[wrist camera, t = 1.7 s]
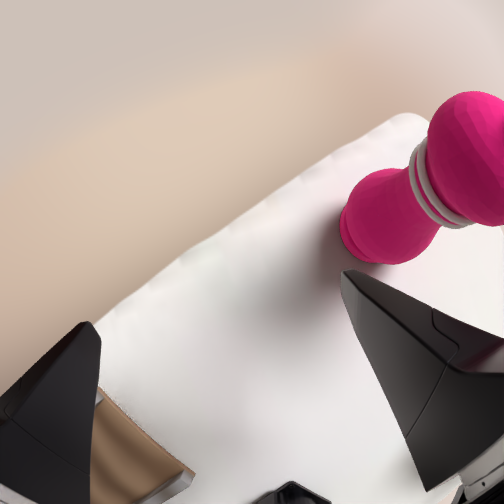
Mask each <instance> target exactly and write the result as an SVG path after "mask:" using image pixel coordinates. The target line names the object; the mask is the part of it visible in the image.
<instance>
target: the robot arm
mask: <svg viewBox="0 0 504 504" xmlns="http://www.w3.org/2000/svg"><path fill="white" fill-rule="evenodd" d="M341 295H342V298H343V301H344V304H345V306H346V309H347V312H348V314H349V317H350V320H351V323H352V325H353V328H354V331H355V333H356V336H357V338H358V340H359V342H360V344H361V346H362V348H363V350H364V352H365V354H366V356H367V358H368V360H369V362H370V364H371V366H372V368H373V370H374V372H375V374H376V377H377V379H378V381H379V383H380V385H381V387H382V389H383V391H384V394H385V396H386V398H387V400H388V402H389V404H390V407H391V409H392V411H393V413H394V416H395V418H396V420H397V422H398V425H399V427H400V429H401V431H402V434H403V436H404V438H405V441H406V444H407V446H408V448H409V451H410V453H411V456H412V458H413V460H414V463H415V465H416V468H417V470H418V473H419V475H420V478H421V481H422V483H423V486H424V488H425V491H426V492H428V491H430V490H432V489H434V488H436V487H438V486H440V485H442V484H444V483H445V482H447V481H449V480H451V479H452V478H454V477H456V476H457V475H459V476H460V479H461V481H462V485H461V486H459V488H458V490H457V492H456V495H455V497H454V499H453V501H452V503H451V504H504V338H501V337H498V336H496V335H493V334H491V333H488V332H486V331H483V330H481V329H478V328H476V327H474V326H471V325H469V324H466V323H464V322H462V321H459V320H457V319H455V318H453V317H451V316H449V315H447V314H445V313H443V312H441V311H439V310H437V309H435V308H433V309H432V307H431V306H429V305H427V304H425V303H423V302H421V301H419V300H417V299H415V298H413V297H411V296H409V295H407V294H405V293H403V292H401V291H399V290H397V289H395V288H393V287H391V286H389V285H387V284H385V283H383V282H381V281H379V280H377V279H375V278H372V277H370V276H368V275H366V274H364V273H362V272H360V271H358V270H356V269H354V268H351V269H347V270H343V271H342V272H341ZM100 355H101V338H100V336H99V334H98V333H97V331H96V330H95V328H94V327H93V325H92V324H91V323H90V322H89V321H86V322H80V323H79V324H78V325H76V326H75V327H74V328H73V329H72V330H71V331H70V332H69V333H67V334H66V335H65V336H64V337H63V338H62V339H61V340H60V341H59V342H58V343H56V345H54V346H53V347H52V348H51V349H50V350H49V351H48V352H47V353H46V354H45V355H43V356H42V357H41V358H40V359H39V360H38V361H37V362H36V363H35V364H34V365H33V366H32V367H31V368H30V369H29V370H28V371H27V372H26V373H25V374H24V375H23V376H22V377H20V378H19V379H18V380H17V382H15V383H14V384H13V385H12V386H11V387H10V388H9V389H8V390H7V391H6V392H5V393H4V394H3V395H2V396H1V397H0V504H90V465H91V445H92V432H93V421H94V412H95V403H96V395H97V388H98V381H99V370H100ZM291 485H294V486H291ZM257 504H332V502H331V501H329V500H327V499H325V498H323V497H321V496H319V495H318V494H316V493H314V492H312V491H310V490H308V489H307V488H305V487H303V486H301V485H300V484H298V483H296V482H294V481H291V482H288V483H287V484H285V485H284V486H283V487H281V488H280V489H278V490H277V491H275V492H273V493H271V494H270V495H268V496H267V497H265V498H263V499H262V500H260V501H259V502H257Z"/></svg>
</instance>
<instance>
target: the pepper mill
mask: <svg viewBox="0 0 504 504" xmlns="http://www.w3.org/2000/svg"><path fill="white" fill-rule="evenodd" d="M475 223H479V224H482V225H486V226H492V227H494V226H500V225H504V101H502V100H501V99H499V98H497V97H495V96H493V95H490V94H487V93H484V92H480V91H479V92H478V91H470V92H462V93H459V94H457V95H455V96H453V97H451V98H449V99H448V100H447V101H446V102H444V103H443V104H442V105H441V106H440V107H439V108H438V110H437V111H436V113H435V114H434V116H433V118H432V120H431V122H430V125H429V128H428V135H427V137H426V138H425V139H424V140H423V141H422V142H421V143H420V144H419V145H418V146H417V147H416V148H415V149H414V151H413V152H412V155H411V157H410V162H409V166H408V167H406V168H405V169H394V168H390V169H383V170H379V171H376V172H373V173H371V174H369V175H368V176H366V177H365V178H363V179H362V180H361V181H360V182H359V183H358V184H357V185H356V186H355V187H354V189H353V190H352V192H351V194H350V196H349V199H348V202H347V205H346V206H345V207H344V209H343V211H342V214H341V217H340V224H339V226H340V234H341V238H342V240H343V242H344V244H345V246H346V248H347V249H348V250H349V251H350V252H351V253H352V254H353V255H354V256H355V257H356V258H358V259H360V260H362V261H365V262H370V263H377V262H379V263H383V264H391V265H395V264H401V263H404V262H407V261H409V260H411V259H413V258H415V257H417V256H418V255H419V254H421V253H422V252H423V251H424V250H425V249H426V248H427V247H428V246H429V244H430V243H431V241H432V240H433V238H434V236H435V234H436V233H437V231H438V230H439V228H440V227H441V226H444V227H447V228H451V229H460V228H464V227H466V226H468V225H472V224H475Z"/></svg>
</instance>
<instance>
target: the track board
mask: <svg viewBox="0 0 504 504" xmlns="http://www.w3.org/2000/svg"><path fill="white" fill-rule="evenodd" d="M194 476H195V473H194V472H193V471H192V470H190V469H189V468H188V467H186V466H185V465H184V464H182V463H181V462H180V461H178V460H177V459H176V458H175V457H173V456H172V455H171V454H170V453H168V452H167V451H166V450H165V449H163V448H162V447H161V446H160V445H159V444H158V443H156V442H155V441H154V440H153V439H152V438H151V437H149V436H148V435H147V434H146V433H145V432H144V431H143V430H142V429H141V428H139V427H138V426H137V425H136V424H135V423H134V422H133V421H132V420H131V419H130V418H129V417H128V416H127V415H126V414H125V413H124V412H123V411H122V410H121V409H120V408H119V407H118V406H117V405H116V404H115V403H114V402H113V401H112V400H111V399H110V398H109V397H108V396H107V395H106V394H105V392H104V391H103V390H102V389H101V388H100V387H98V388H97V395H96V403H95V412H94V421H93V432H92V445H91V465H90V504H162V503H163V502H165V501H167V500H168V499H170V498H172V497H173V496H175V495H176V494H178V493H180V492H181V491H183V490H184V489H186V488H187V487H189V486H190V485H191V482H192V480H193V477H194Z"/></svg>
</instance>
